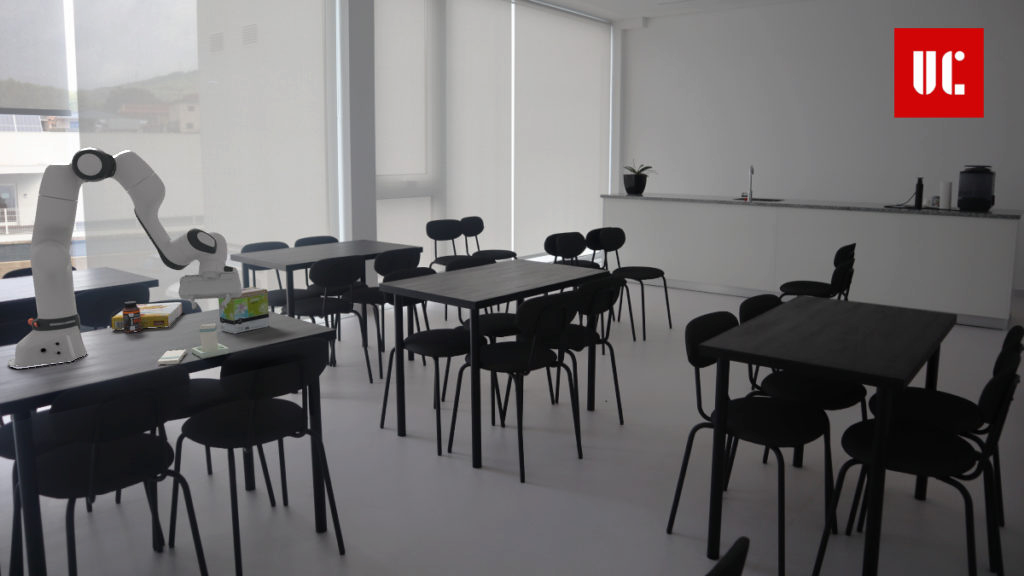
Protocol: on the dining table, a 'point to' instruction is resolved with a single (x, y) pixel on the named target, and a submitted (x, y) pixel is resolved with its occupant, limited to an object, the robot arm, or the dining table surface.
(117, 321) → the cereal box
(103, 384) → the dining table surface
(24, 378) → the dining table surface
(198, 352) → the tray
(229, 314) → the tea box
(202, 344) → the white teal striped box
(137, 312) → the supplement bottle
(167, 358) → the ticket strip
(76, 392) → the dining table surface
